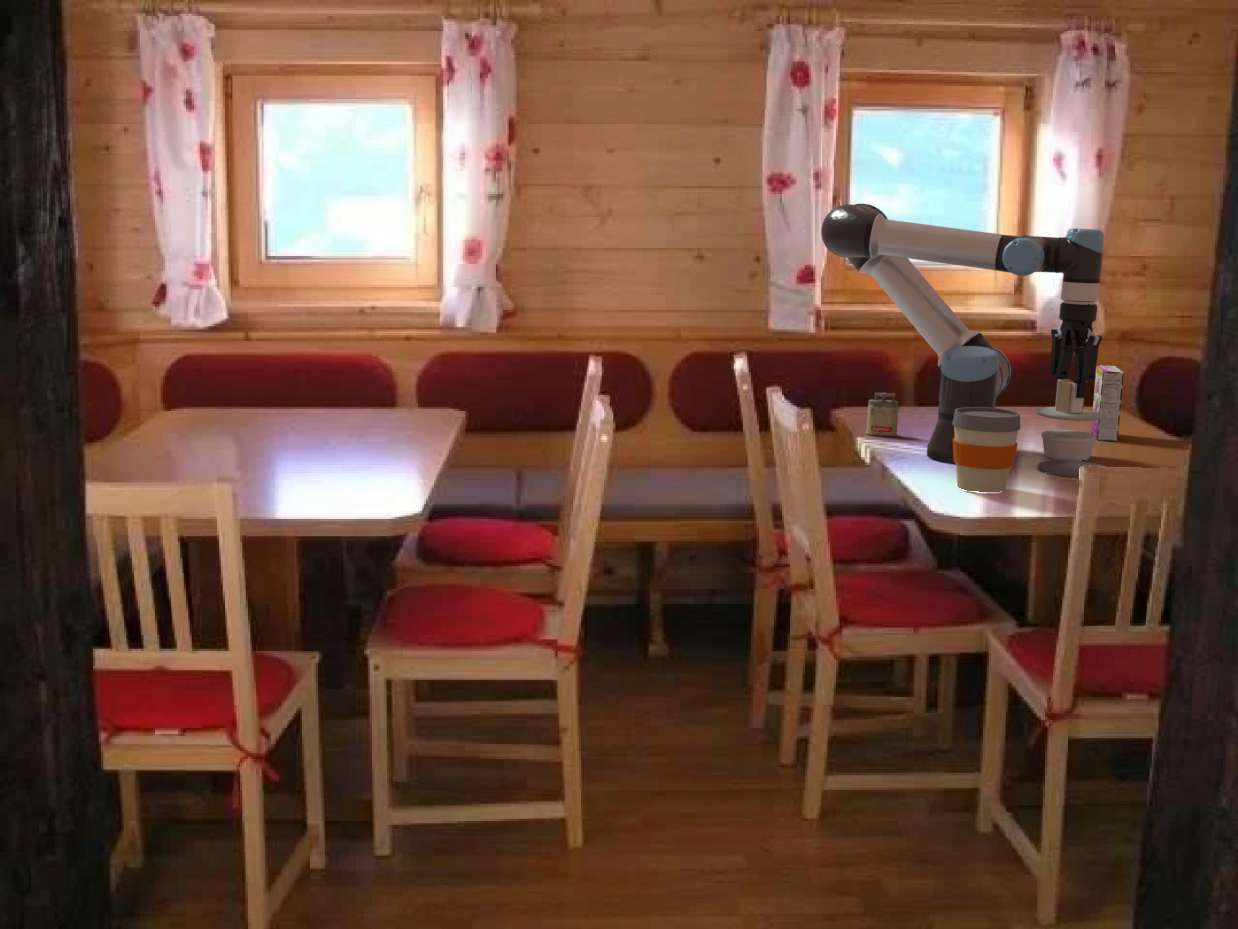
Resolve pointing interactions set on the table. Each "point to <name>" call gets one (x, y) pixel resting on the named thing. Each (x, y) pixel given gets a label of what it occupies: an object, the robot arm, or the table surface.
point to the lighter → (882, 415)
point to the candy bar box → (1107, 402)
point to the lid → (1067, 406)
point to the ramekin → (1068, 444)
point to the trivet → (1063, 467)
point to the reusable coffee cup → (984, 447)
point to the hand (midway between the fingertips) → (1068, 410)
